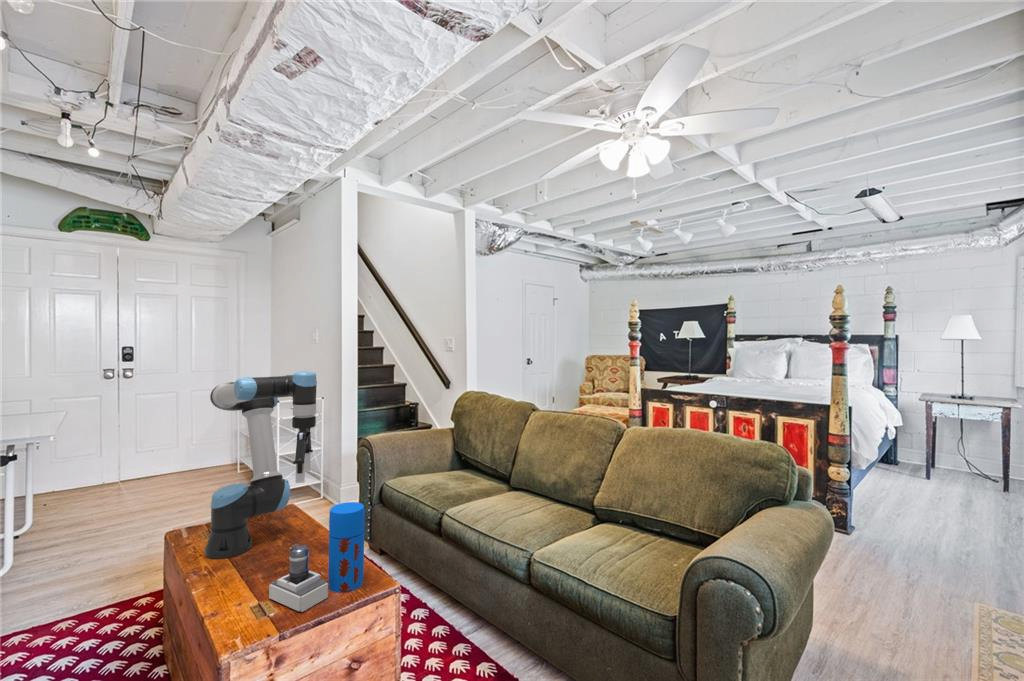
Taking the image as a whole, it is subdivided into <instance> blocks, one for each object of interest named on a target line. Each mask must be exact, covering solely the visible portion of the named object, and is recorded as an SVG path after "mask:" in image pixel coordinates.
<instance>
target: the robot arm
mask: <svg viewBox="0 0 1024 681" xmlns="http://www.w3.org/2000/svg"><path fill="white" fill-rule="evenodd" d="M317 384H318V381H317V373H316V372H315V371H308V370H307V371H295V372H294V373H293V374H287V375H281V376H280V375H278V376H261V377H260V376H257V377H254V376H252V377H250V376H246V377H241V378H237V379H236V380H235V381H231V382H225V383H222V384H217V385H216V386H215V387H214V388H212V390H211V392H210V395H209V396H210V397H209V399H210V402H211V404H212V405H213V406H214V407H216V408H217V409H220V410H222V411H227V412H228V411H230V412H231V411H241V414H242V416H243V417H245V418H246V421H247V430H248V438H249V447H250V456H251V457H250V458H251V464H252V466H251V467H252V474H253V477H252V478H251V480H250V481H249V486H248V484H247V483H244V482H240V483H234V484H233V483H232V484H229V485H225V486H222V487H220V488H219V489H217V490H216V491H214V492H213V493H212V495H211V503H210V508H211V509H210V534H209V536H208V538H207V541H206V544H205V547H204V555H205V557H206V558H208V559H214V560H215V559H216V560H217V559H218V560H219V559H227V558H232V557H235V556H239V555H241V554H243V553H246V552H248V551H249V550H250V549H251V548H252V546H253V539H252V536H251V533H250V530H249V528H248V519H250V518H253V517H257V516H262V515H266V514H270V513H275V512H277V511H280V510H283V509H284V508H286V506H287V505H288V503H289V500H290V496H291V485H290V483H289V480H288V479H287V478H284V477H283V474H282V473H280V472H279V471H278V464H277V456H276V450H275V449H276V448H275V440H274V434H273V426H272V419H271V418H272V417H271V415H272V413H273V412H274V410H275V409H274V408H276V406H277V405H278V402H279V399H278V398H288V397H289V398H290V397H291V398H292V406H290V410H292V416H293V417H292V418H291V420H292V422H291V427H292V428H293V429H296V430H297V429H298V432H297V433H296V446H295V454H294V455H295V456H294V457H295V458H294V461H293V460H292V461H293V465H295V484H300V483H302V484H303V483H306V482H305V479H306V478H305V477H306V472H311V453H313V452H314V450H313V447H312V438H311V437H312V436H311V434H312V432H311V429H312V428H315V427H316V426H317V422H316V421H317V420H316V419H317V417H316V415H317Z"/></svg>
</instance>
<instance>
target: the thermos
mask: <svg viewBox="0 0 1024 681" xmlns="http://www.w3.org/2000/svg"><path fill="white" fill-rule="evenodd" d="M365 513H366V512H365V506H364V504H363V503H361V502H357V501H354V502H353V501H351V502H342V503H338V504H334V505H332V506H331V507H330V509H329V513H328V514H329V515H328V516H329V518H328V520H329V521H328V523H329V524H328V533H329V534H328V572H327V573H328V574H327V575H328V590H330V591H331V592H333V593H336V594H337V593H338V594H339V593H340V594H344V593H350V592H353V591H355V590H358V588H361V586H362V585H363V583H364V570H365V569H364V568H365V567H364V565H365V564H364V563H365V560H364V559H365V518H366V517H365Z"/></svg>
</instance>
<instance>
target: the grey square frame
mask: <svg viewBox="0 0 1024 681" xmlns="http://www.w3.org/2000/svg"><path fill="white" fill-rule="evenodd" d="M268 587H269V588H268V589H269V590H268V598H269V599H270V600H272V601H275V602H277V603H279V604H282V605H283V606H286V607H288V608H290V609H292V610H295V611H296V612H299V613H303V612H306V611H307V610H308V609H310V608H312V607H314V606H315V605H317V604H318V603H320V602H322V601H324V600H326V599H327V598H329V582H327V580H324V579H322V578H321V574H320V573H318V572H315V571H313V570H309V573H308V579H307V580H305V581H303V582H301V583H299V584H297V585H296V584H294V583H291V582H290V577H289V573H288V574H286V575H284V576H281V577H279V578H277V579H275V580H273V581H271V582H270V584H268Z"/></svg>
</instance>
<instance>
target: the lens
mask: <svg viewBox="0 0 1024 681" xmlns="http://www.w3.org/2000/svg"><path fill="white" fill-rule="evenodd" d="M309 550H310V549H309V547H308V545H298V546H294V547H292V548H291V549H290V550H289V556H288V560H289V573H288V574H289V577H290V582H291V583H294V584H296V585H297V584H299V583H301V582H303V581H305V580H307V579H308V573H309V569H310V568H309V557H310V551H309Z"/></svg>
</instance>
